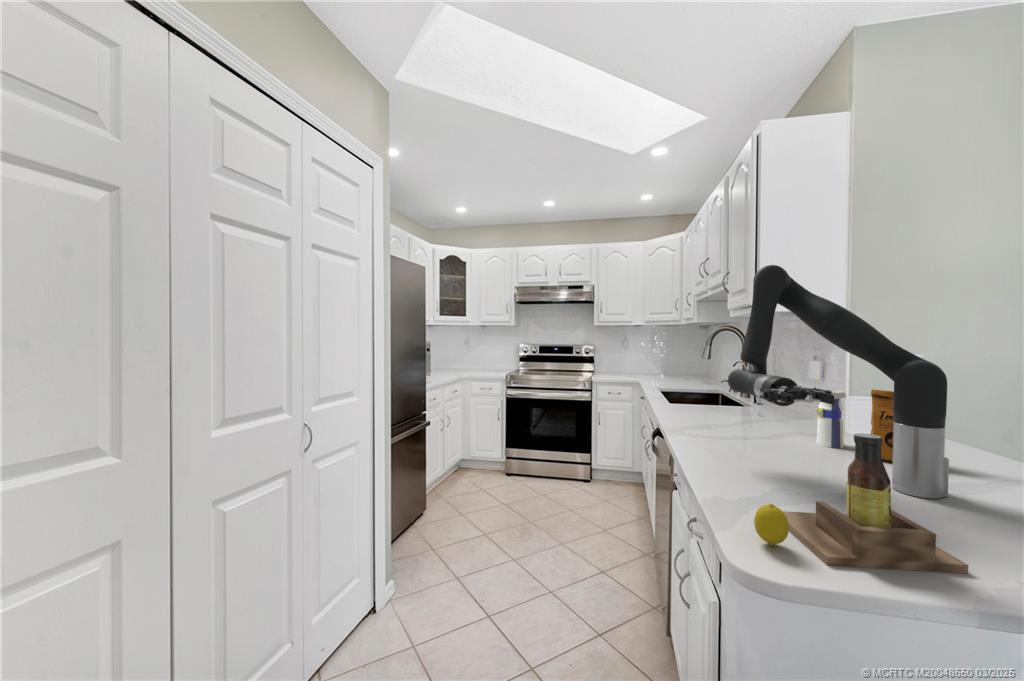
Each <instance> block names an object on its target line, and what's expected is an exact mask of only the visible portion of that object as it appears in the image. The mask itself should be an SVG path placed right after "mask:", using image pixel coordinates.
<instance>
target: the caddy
mask: <svg viewBox="0 0 1024 681" xmlns="http://www.w3.org/2000/svg"><path fill="white" fill-rule="evenodd" d="M782 511H783V510H782ZM783 513H784V514H785V516H786V518H787V521H788V533H790V534H792V536H794V537H795V538H796V539H797V540H798V541H799V542H800V543H802V544H803V545H804V546H805V547H806V548H807V549H808V550H809V551H810V552H811V553H813V554H814V555H815V556H816V557H817V558H818V559H819V560H821V561H822V562H823V563H824V564H825V565H826V566H833V567H834V566H836V567H837V566H838V567H850V568H851V567H852V568H853V567H854V568H855V567H856V568H866V569H867V568H868V569H869V568H870V569H883V570H885V569H887V570H901V571H904V570H905V571H917V572H918V571H920V572H933V573H947V574H949V573H950V574H952V573H953V574H965V575H966V574H967V575H968V574H969V564H967V563H966V562H964V561H962V560H961V559H959V558H958V557H955V556H954V555H952V554H951V553H948V552H946V550H944V549H942V548H940V547H938V546H937V542H936V541H937V534H936V533H934V532H933V531H931V530H929V529H927V528H926V527H924V526H922V525H920V524H918V523H916V522H914V521H913V520H911V519H909V518H907V517H906V516H903V515H902V514H900V513H898V512H897V511H895V510H893V509H891V528H881V527H862V526H860V525H859V524H857V523H856V522H854V521H853V520H851V519H850V518H848V517H847V514H846V513H842V512H840V511H839V510H837V509H836V508H834V507H833V506H831V505H830V504H829V503H827V502H826V501H822V500H815V512H808V511H807V512H804V511H803V512H802V511H800V512H799V511H786V510H785V511H783Z"/></svg>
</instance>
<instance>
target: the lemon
mask: <svg viewBox="0 0 1024 681" xmlns="http://www.w3.org/2000/svg"><path fill="white" fill-rule="evenodd" d="M753 521H754V523H753V524H754V528H755V532H756V534H757V535H758V536H759V538H760V539H761V540H763V541H764V542H766V543H767V545H769V546H774V545H777V544H781V543H783V542H784V541H785V540H786V539H787V537H788V535H789V531H788V521H787V518H786V516H785V514H784V513H783V510H782V509H780V508H779V507H777V506H776V505H774V504H773V503H768V504H764V505H761V506H760V507H758V509H757V510H756V511H755V514H754V520H753Z"/></svg>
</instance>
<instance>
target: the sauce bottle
mask: <svg viewBox="0 0 1024 681" xmlns="http://www.w3.org/2000/svg"><path fill="white" fill-rule="evenodd" d="M853 441H854V459H853V460H852V461H851V463H850V464H849V465H848V467H847V482H846V510H847V511H846V512H847V517H848V518H850V519H851V520H853V521H854V522H856V523H857V524H859V525H860V526H862V527H881V528H891V510H892V494H891V491H892V489H891V488H892V480H891V479H890V476H889V474H888V472H887V470H886V467H885V464H884V462H883V460H881V459H882V457H881V445H882V437H880V436H877V435H872V434H871V433H859V432H858V433H854V434H853Z"/></svg>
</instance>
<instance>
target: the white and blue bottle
mask: <svg viewBox="0 0 1024 681" xmlns="http://www.w3.org/2000/svg"><path fill="white" fill-rule="evenodd" d="M818 376H819V375H818V373H817V374H816V376H815V384H818V379H819V378H818ZM827 390H828V391H832V393H831V394H832V395H833V396H834V404H827V403H823V402H819V405H818V406H817V407H818V408H817V409H816V416H817V425H816V426H817V430H816V432H817V433H816V442H815V444H816V445H818V446H820V445H821V447H824V446H825V448H829V447H830V448H832V449H844V448H845V447H844V446H845V445H844V444H845V443H844V421H843V418H842V412H843V410H844V408H843V407H842V399H844V398H845V399H846V398H847V394H846V392H845V391H843V390H836V389H827Z"/></svg>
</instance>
